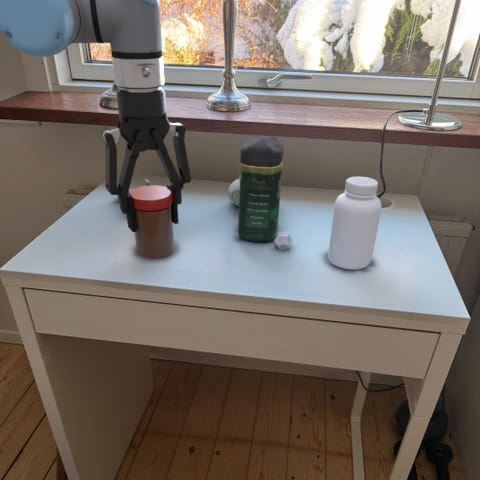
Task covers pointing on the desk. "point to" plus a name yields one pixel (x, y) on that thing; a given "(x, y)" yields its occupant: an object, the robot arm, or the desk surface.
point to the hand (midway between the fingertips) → (153, 225)
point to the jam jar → (154, 233)
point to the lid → (151, 197)
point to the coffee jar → (260, 188)
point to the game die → (283, 240)
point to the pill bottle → (355, 224)
